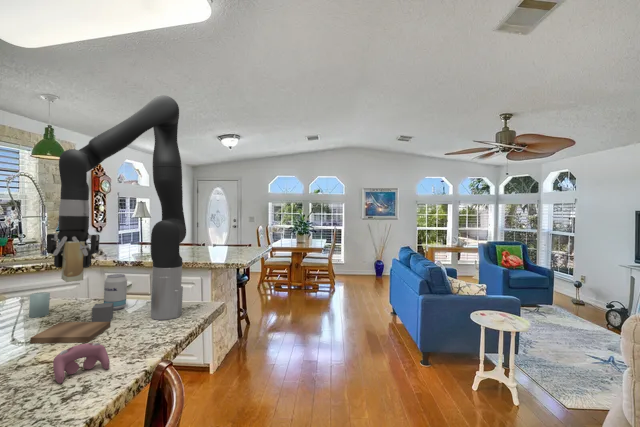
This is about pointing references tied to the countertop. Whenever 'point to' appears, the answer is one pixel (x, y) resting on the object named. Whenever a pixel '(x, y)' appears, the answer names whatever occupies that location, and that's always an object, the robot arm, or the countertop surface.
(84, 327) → the wooden board
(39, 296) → the grey-green rounded block
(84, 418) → the countertop surface
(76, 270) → the skincare box
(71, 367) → the video game controller
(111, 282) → the beverage can
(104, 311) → the rubber block
